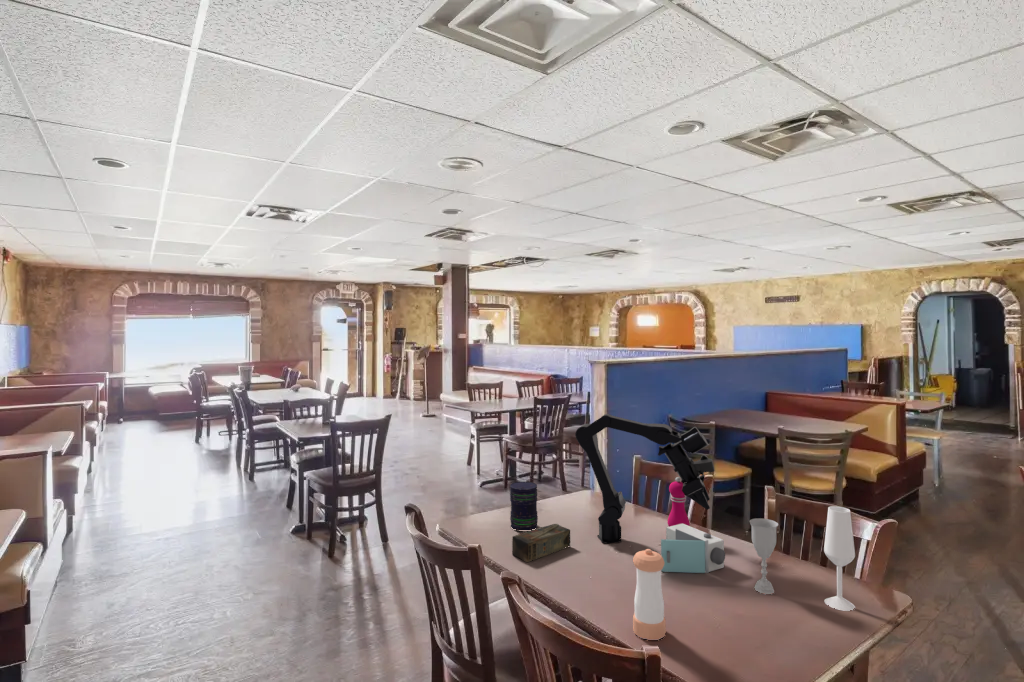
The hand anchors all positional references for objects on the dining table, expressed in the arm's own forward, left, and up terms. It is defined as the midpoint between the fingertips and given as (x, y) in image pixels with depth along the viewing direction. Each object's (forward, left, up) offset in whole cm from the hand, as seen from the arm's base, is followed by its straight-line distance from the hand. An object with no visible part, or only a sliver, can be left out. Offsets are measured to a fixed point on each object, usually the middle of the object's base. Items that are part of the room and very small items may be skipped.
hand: (708, 504), depth 169 cm
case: (-7, -5, -15) cm, 17 cm away
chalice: (+2, -26, -15) cm, 30 cm away
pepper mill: (-3, +14, -15) cm, 21 cm away
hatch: (-15, -13, -15) cm, 24 cm away
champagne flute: (+16, -36, -15) cm, 42 cm away
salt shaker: (-36, -40, -15) cm, 56 cm away
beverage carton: (-51, +10, -15) cm, 55 cm away
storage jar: (-53, +32, -15) cm, 64 cm away
